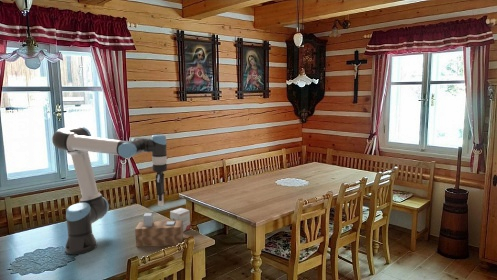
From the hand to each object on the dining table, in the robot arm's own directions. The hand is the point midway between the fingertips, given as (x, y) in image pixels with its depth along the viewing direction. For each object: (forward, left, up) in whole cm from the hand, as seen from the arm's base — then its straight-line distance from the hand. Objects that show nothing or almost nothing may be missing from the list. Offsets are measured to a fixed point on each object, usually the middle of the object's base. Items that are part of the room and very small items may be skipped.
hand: (160, 205), depth 191 cm
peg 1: (-7, 0, -15) cm, 16 cm away
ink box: (+8, +17, -21) cm, 28 cm away
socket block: (-1, 0, -21) cm, 21 cm away
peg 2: (+5, 0, -20) cm, 20 cm away
